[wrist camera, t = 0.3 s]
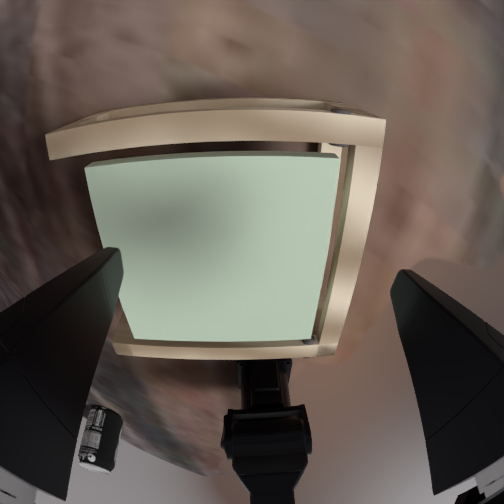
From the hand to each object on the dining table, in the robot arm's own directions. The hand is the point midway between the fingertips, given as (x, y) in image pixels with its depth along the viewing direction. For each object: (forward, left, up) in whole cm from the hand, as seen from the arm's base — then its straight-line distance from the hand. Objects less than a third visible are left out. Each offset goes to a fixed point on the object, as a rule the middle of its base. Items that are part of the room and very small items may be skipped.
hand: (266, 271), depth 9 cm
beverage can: (-44, +27, -14) cm, 53 cm away
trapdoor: (-5, +2, -8) cm, 9 cm away
